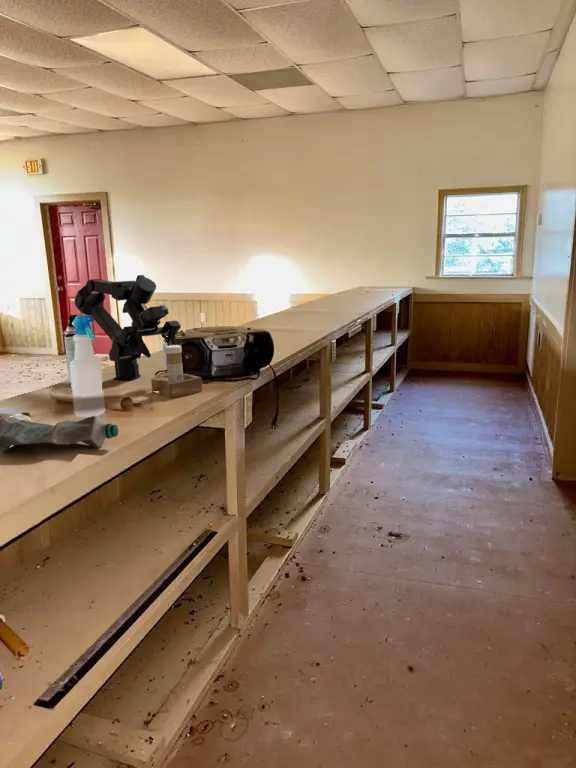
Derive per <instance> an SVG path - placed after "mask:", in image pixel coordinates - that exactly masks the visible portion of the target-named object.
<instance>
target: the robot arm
mask: <svg viewBox="0 0 576 768" xmlns="http://www.w3.org/2000/svg"><path fill="white" fill-rule="evenodd" d="M156 289H157V284H156V282H155V281H153V280H152V279H150V278H149V277H146V276H145V275H144V274H138V275H137V276H136V278H135V280H123V281H120V280H119V281H111V280H105V279H101V278H94V279H88V280H87V281H86V283H85V285H84V286H83V287H81V288H80V289H79V290H78V291H77V294H76V295H75V298H74V305H75V307H76V308H77V310H78V311H79V312H81V313H82V314H83V315H86V316H89V315H91V316H93V318H94V319H93V318H92V319H93V320H94V321H95V322H96V324H97V325H98V326H99V327H100V328H101V329H102V330H103V332H104V333H105V334H106V335H107V337H108V338H109V339H110V340H111V347H110V350H109V353H108V356H109V361H110V362H114V370H115V372H114V373H115V377H113V380H117V381H119V380H120V381H132V380H135V379H138V378H139V377H141V376H142V375H141V374H140V370H139V369H140V368H139V367H140V366H139V363H138V361H137V359H141V357H142V355H143V356H145V357H146V358H148V359H149V358H151V357H152V355H151V352H150V350H149V348H148V346H147V345H146V344H145V341H144V340H143V337H150V336H151V337H152V336H158V335H161V337H162V338H163V339H165V340H166V341H165V340H163V341H164V343H165V344H166V342H167V343H168V342H169V341H170V340H171V342H172V345H175V343H174V341H175V339H176V336H177V335H178V333H179V330H180V329H181V327H182V325H181V324H180V322H179V321H178V320H168V321H165V323H164V325H163V326H161V327H159V325H160V324H161V323H162V321H161V319H163V318H166V316H168V315H169V309H168V307H167V305H165V304H159V305H158V306H150V307H147V305H146V304H148V303H149V302H150V301H151V299H152V297H153V296H154V293H155V291H156ZM106 295H110V296H111V298H112V299H114V300H116V301H125V302H124V304H123V307H122V313H123V314H128V316H129V318H130V319H131V321H132V322H131V325H129V326H124V327H123V328H122V327H121V325H120V324H119V323H118V322H117V320H115V318H114V317H113V316H112V315H111V314H110V312H108V311H107V310H106V308H105V307H104V302H105V300H106ZM91 316H90V317H91ZM175 335H176V336H175ZM166 336H168V337H166ZM176 340H177V339H176Z"/></svg>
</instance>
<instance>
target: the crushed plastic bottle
mask: <svg viewBox="0 0 576 768" xmlns="http://www.w3.org/2000/svg"><path fill="white" fill-rule="evenodd" d="M118 434H119V428H118V425H117V424H113V423H106V422H105V421H104V419H102V418H101V417H99V416H96V415H93V416H90V417H89V416H88V417H85V418H83V419H81V420H77V421H75V420H64V421H59V422H57V423H56V424H55V425H54V424H53V425H52V424H48V423H41V422H35V421H28V420H25V419H20V418H17V417H15V416H14V417H13V416H6V417H5V416H4V417H2V418H1V419H0V452H3V451H8V450H10V449H9V448H10V446H11V445H15V446H17V445H30V444H39V443H46V444H52V445H53V444H54V445H72V444H73V445H74V444H75V443H76V444H77V443H79V442H81V443H84V444H85V445H89V446H91V447H93V448H95V449H97V448H101V447H102V446H103V445H104V443H105V441H106V439H113V438H116V437H117V436H118Z"/></svg>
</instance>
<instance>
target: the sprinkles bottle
mask: <svg viewBox="0 0 576 768" xmlns="http://www.w3.org/2000/svg"><path fill="white" fill-rule="evenodd" d="M164 347H165V348H164V350H165V351H164V352H165V355H166V357H165V359H166V373H167V381H168V382H172V383H174V382H178V381H183V373H184V370H183V362H182V361H183V358H182V352H183V351H182V350H183V349H182V345H180V344H176V345H169V346H168V345H166V346H164Z"/></svg>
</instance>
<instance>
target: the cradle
mask: <svg viewBox="0 0 576 768" xmlns="http://www.w3.org/2000/svg"><path fill="white" fill-rule="evenodd" d="M202 381H203V378H202V377H201V376H197V375H192V374H188V373H184V374H183V381H178V382H174V383H172V382H168V380H167V381H166V380H163V379H160V378H157V377H156V378H155V377H153V378H151V381H150V382H151V392H152V391H159V393H160V394H159V395H160V396H164V397H169V398H170V399H175V398H179V397H183V396H186V395H191V394H196V393H198V392H199V393H200V392H202V391H203V382H202Z"/></svg>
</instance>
